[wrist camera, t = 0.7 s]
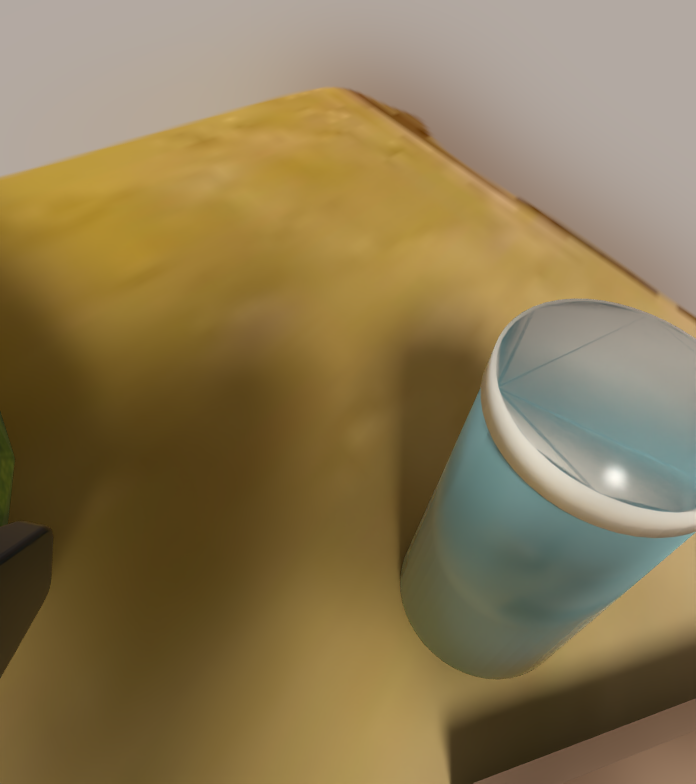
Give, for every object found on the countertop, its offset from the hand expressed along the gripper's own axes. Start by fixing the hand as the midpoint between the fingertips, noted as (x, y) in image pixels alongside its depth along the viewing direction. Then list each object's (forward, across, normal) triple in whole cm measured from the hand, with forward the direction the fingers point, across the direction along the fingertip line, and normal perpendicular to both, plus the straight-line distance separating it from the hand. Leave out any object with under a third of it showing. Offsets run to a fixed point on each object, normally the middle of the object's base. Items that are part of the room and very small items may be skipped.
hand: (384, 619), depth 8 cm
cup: (+15, -6, +9) cm, 18 cm away
